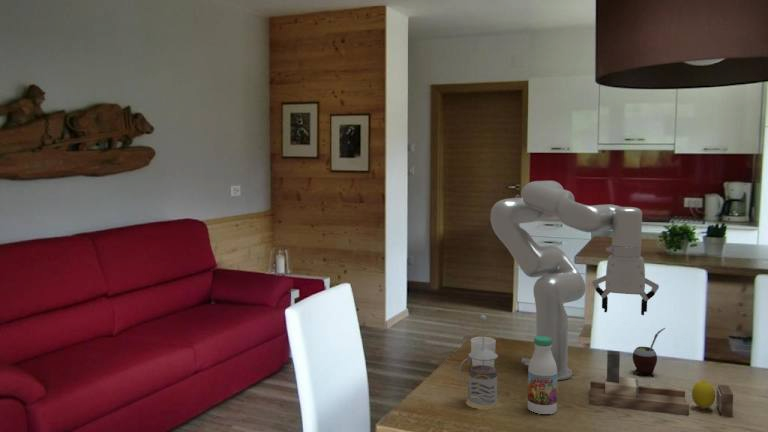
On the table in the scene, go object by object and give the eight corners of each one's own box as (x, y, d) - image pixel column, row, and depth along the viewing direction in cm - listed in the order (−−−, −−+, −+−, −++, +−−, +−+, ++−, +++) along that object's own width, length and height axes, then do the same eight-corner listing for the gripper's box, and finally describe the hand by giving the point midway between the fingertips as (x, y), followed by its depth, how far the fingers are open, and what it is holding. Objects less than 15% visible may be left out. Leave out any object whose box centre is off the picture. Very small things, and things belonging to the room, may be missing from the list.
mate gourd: (627, 372, 203) (628, 326, 202) (643, 368, 207) (645, 322, 206) (647, 379, 197) (649, 331, 196) (664, 374, 201) (665, 327, 200)
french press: (498, 411, 174) (499, 320, 172) (455, 407, 177) (455, 318, 175) (502, 398, 183) (503, 312, 181) (462, 394, 187) (462, 309, 184)
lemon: (717, 413, 171) (718, 384, 170) (694, 412, 172) (695, 383, 171) (711, 405, 176) (712, 377, 175) (689, 404, 177) (690, 376, 176)
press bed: (589, 404, 178) (589, 394, 178) (590, 390, 189) (590, 381, 188) (689, 415, 170) (689, 404, 170) (684, 400, 180) (684, 390, 180)
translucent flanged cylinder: (477, 365, 212) (478, 335, 212) (499, 369, 208) (500, 339, 207) (466, 371, 206) (466, 341, 205) (488, 376, 202) (488, 345, 201)
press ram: (604, 397, 179) (605, 355, 178) (605, 389, 185) (605, 348, 184) (638, 401, 176) (639, 358, 175) (637, 392, 183) (638, 351, 181)
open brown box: (719, 415, 170) (720, 393, 169) (715, 405, 176) (716, 384, 176) (732, 417, 169) (733, 394, 168) (727, 407, 175) (728, 385, 175)
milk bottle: (525, 404, 179) (525, 333, 177) (553, 404, 178) (554, 333, 177) (530, 415, 171) (531, 342, 169) (560, 415, 171) (561, 341, 169)
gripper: (592, 252, 178) (590, 313, 179) (660, 255, 172) (658, 318, 173) (593, 248, 185) (592, 307, 186) (659, 251, 179) (657, 312, 180)
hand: (624, 312), depth 180 cm, fingers open, 9 cm apart
